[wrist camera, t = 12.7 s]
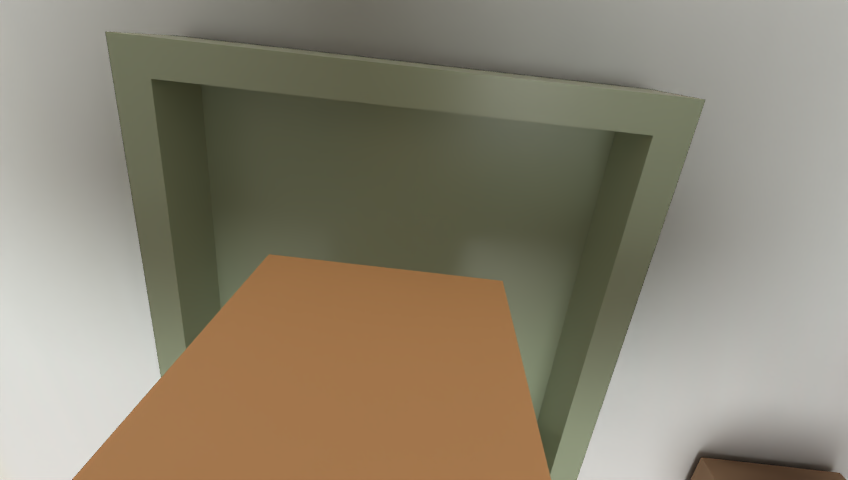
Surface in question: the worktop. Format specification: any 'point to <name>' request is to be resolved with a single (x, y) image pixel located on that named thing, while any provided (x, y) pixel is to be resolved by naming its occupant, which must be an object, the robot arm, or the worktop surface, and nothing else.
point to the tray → (403, 192)
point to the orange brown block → (339, 385)
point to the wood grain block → (755, 471)
